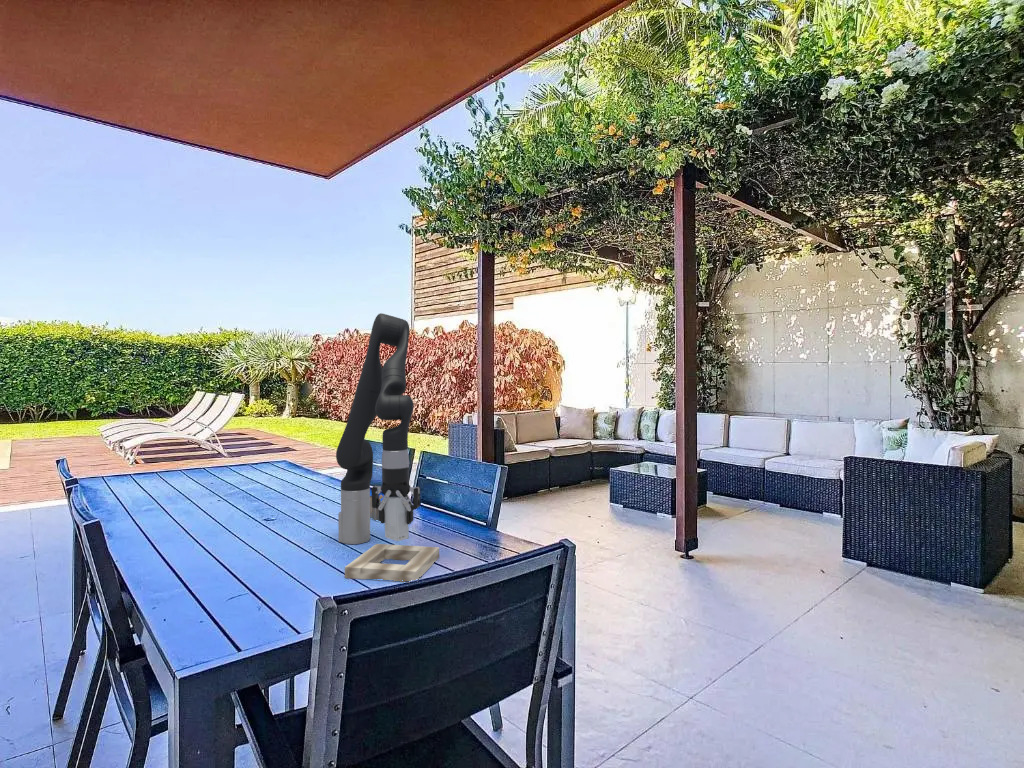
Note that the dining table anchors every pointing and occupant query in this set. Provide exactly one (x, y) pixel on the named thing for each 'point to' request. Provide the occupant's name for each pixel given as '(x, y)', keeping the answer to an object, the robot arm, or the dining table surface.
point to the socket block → (373, 569)
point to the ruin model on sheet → (374, 509)
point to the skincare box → (396, 519)
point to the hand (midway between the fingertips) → (396, 523)
